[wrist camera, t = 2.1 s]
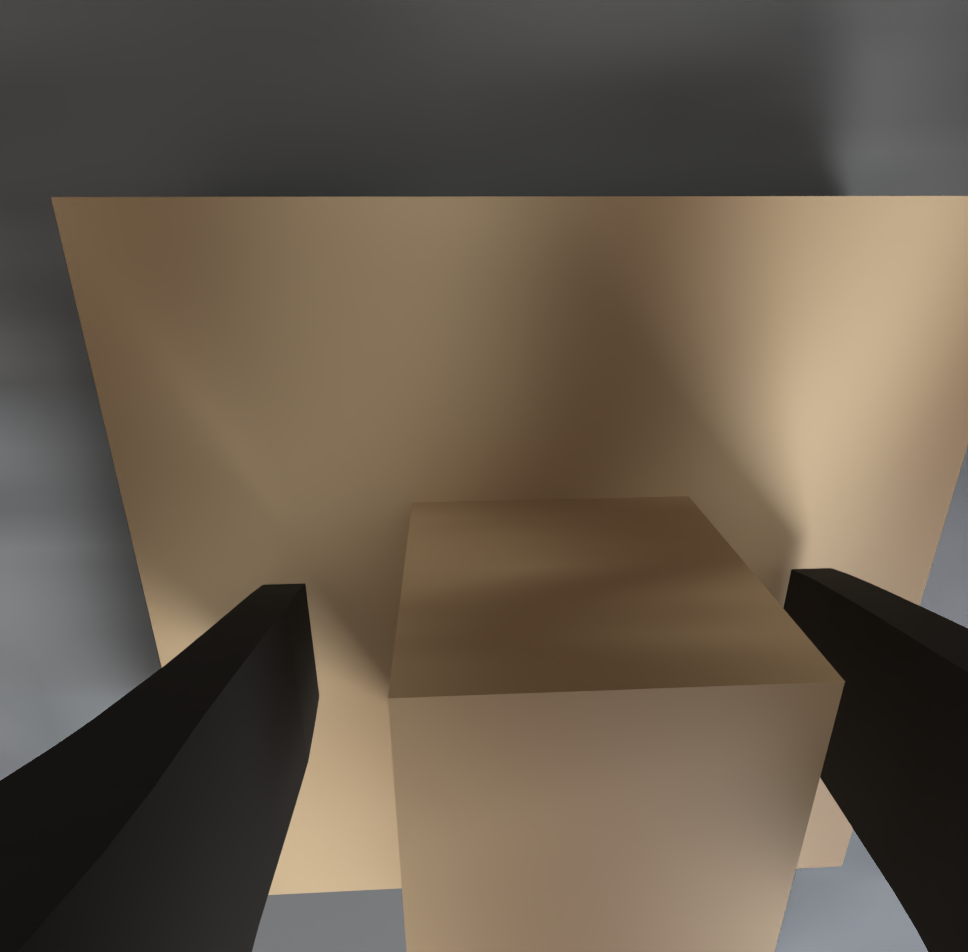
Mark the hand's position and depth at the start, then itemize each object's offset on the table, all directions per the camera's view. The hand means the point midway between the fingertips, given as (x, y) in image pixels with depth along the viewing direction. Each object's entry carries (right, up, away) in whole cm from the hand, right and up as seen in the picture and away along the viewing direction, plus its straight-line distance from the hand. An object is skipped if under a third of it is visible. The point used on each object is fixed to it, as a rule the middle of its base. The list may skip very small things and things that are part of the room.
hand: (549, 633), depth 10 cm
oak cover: (0, 0, +1) cm, 1 cm away
